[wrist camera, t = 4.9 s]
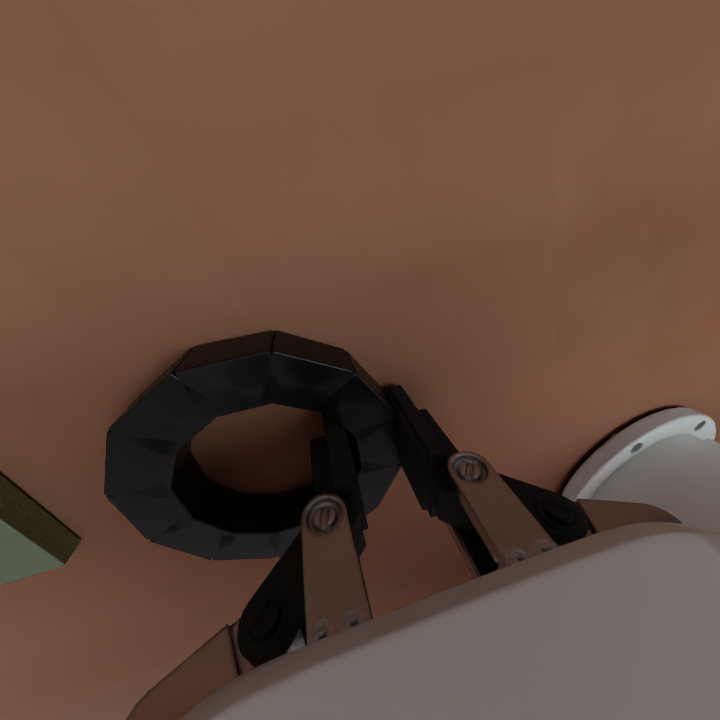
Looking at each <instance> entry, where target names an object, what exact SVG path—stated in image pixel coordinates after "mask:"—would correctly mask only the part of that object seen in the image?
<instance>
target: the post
mask: <svg viewBox="0 0 720 720" xmlns="http://www.w3.org/2000/svg"><path fill="white" fill-rule="evenodd" d="M80 541H81V540H80V539H79V538H78V537H77V536H75V535H74V534H73V533H72V532H70V531H69V530H68V529H67V528H66V527H64V526H63V525H62V524H61V523H59V522H58V521H57V520H56V519H55V518H53V517H52V516H51V515H50V514H49V513H47V512H46V511H45V510H44V509H42V508H41V507H40V506H39V505H38V504H36V503H35V502H34V501H33V500H32V499H30V498H29V497H28V496H27V495H25V494H24V493H23V492H22V491H21V490H19V489H18V488H17V487H16V486H15V485H13V484H12V483H11V482H10V481H8V480H7V479H6V478H5V477H4V476H2V475H1V474H0V585H4V584H7V583H10V582H13V581H17V580H20V579H23V578H26V577H30V576H33V575H36V574H39V573H43V572H46V571H49V570H52V569H56V568H59V567H62V566H64V565H65V564H66V562H67V561H68V559H69V558H70V556H71V555H72V553H73V552H74V550H75V549H76V548H77V546H78V545H79V543H80Z"/></svg>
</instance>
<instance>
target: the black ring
mask: <svg viewBox="0 0 720 720" xmlns="http://www.w3.org/2000/svg"><path fill="white" fill-rule="evenodd" d="M272 403H273V404H279V405H284V406H290V407H296V408H301V409H307V410H313V411H318V412H324V413H326V414H327V415H328V416H329V417H331V418H332V419H333V420H334V421H335V422H337V423H338V424H339V425H340V426H342V427H343V428H345V430H346V431H348V432H349V433H350V434H351V437H352V440H351V442H350V444H349V447H350V450H351V454H352V458H353V462H354V465H355V469H356V473H357V477H358V481H359V486H360V491H361V496H362V500H363V505H364V510H365V514H366V515H367V514H369V513H370V512H371V511H373V510H374V509H376V507H377V506H379V504H380V502H381V501H382V499H383V497H384V495H385V494H386V492H387V490H388V488H389V487H390V485H391V483H392V481H393V480H394V478H395V476H396V475H397V473H398V471H399V469H400V468H401V463H402V460H401V448H400V436H399V424H398V417H397V413H396V411H395V409H394V407H393V406H392V404H391V402H390V400H389V399H388V397H387V395H386V394H385V392H384V390H383V389H382V388H381V387H380V386H379V385H378V384H377V382H376V381H375V380H374V379H373V378H372V377H371V376H370V375H369V374H368V373H367V372H366V371H365V370H364V369H363V368H362V367H361V365H360V364H359V363H358V362H357V361H356V360H355V359H354V358H353V357H352V356H351V355H350V354H349V353H348V352H345V350H344V349H341V348H337V347H333V346H330V345H326V344H323V343H319V342H315V341H312V340H308V339H305V338H301V337H297V336H294V335H290V334H287V333H283V332H279V331H276V332H275V334H274V332H273V331H268V332H264V333H259V334H254V335H249V336H244V337H239V338H234V339H230V340H225V341H220V342H215V343H210V344H205V345H200V346H196V347H195V348H194V349H193V348H191V349H190V350H189V351H188V352H187V353H185V354H184V355H183V356H182V357H181V358H180V359H179V360H178V361H177V362H176V363H175V364H173V365H172V366H171V367H170V368H169V369H168V370H167V371H166V372H165V373H164V374H163V375H161V376H160V377H159V378H158V379H157V380H156V381H155V382H154V383H153V384H152V385H151V386H149V387H148V388H147V389H146V390H145V391H144V392H143V393H142V394H141V395H140V396H139V397H138V398H137V399H136V400H135V401H134V402H133V403H132V404H131V405H130V406H129V407H128V408H127V410H126V411H125V412H124V413H123V414H122V415H121V416H120V417H119V418H118V419H117V420H116V421H115V422H114V423H113V425H112V426H111V427H110V428H109V431H108V432H107V441H106V463H105V485H104V495H107V499H108V500H109V501H110V502H111V503H112V504H113V505H114V506H115V507H116V508H117V509H118V510H119V511H120V512H121V513H122V514H123V515H124V516H125V517H126V518H127V519H128V520H129V521H130V522H131V523H132V524H133V525H134V526H135V528H136V529H137V530H138V531H139V532H140V533H141V534H142V535H143V536H144V537H145V538H146V539H150V541H151V542H153V543H156V544H160V545H163V546H166V547H169V548H173V549H176V550H179V551H182V552H186V553H189V554H192V555H195V556H199V557H202V558H205V559H208V560H211V559H212V558H213V560H236V559H264V558H275V557H276V556H277V557H281V556H282V555H283V554H284V553H285V551H286V550H287V549H288V547H289V546H290V544H291V543H292V542H293V540H294V539H295V537H296V536H297V535H298V533H299V532H300V531H301V514H302V512H303V510H304V507H305V506H306V505H307V503H308V502H309V501H310V500H311V499H313V498H314V492H313V486H311V487H307V488H304V489H301V490H297V491H294V492H290V493H287V494H284V495H280V496H260V495H240V494H238V493H236V492H234V491H231V490H229V489H227V488H225V487H223V486H221V485H219V484H217V483H215V482H213V481H210V480H208V479H206V477H205V476H204V474H203V473H202V471H201V469H200V468H199V466H198V465H197V463H196V461H195V460H194V458H193V457H192V455H191V454H190V452H189V449H190V443H191V438H193V437H194V436H195V435H196V434H197V433H198V432H200V431H201V430H202V429H203V428H204V427H205V426H207V425H208V424H209V423H210V422H211V421H212V420H214V419H215V418H216V417H219V416H223V415H227V414H231V413H235V412H239V411H243V410H247V409H251V408H255V407H260V406H264V405H268V404H272Z"/></svg>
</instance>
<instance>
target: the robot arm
mask: <svg viewBox="0 0 720 720" xmlns="http://www.w3.org/2000/svg"><path fill="white" fill-rule="evenodd" d="M385 394H386V395H387V397H388V399H389V400H390V402H391V404H392V406H393V407H394V409H395V411H396V413H397V417H398V424H399V436H400V448H401V460H402V463H401V465H402V468H403V470H404V472H405V474H406V476H407V478H408V480H409V483H410V485H411V487H412V489H413V491H414V493H415V495H416V498H417V500H418V502H419V504H420V506H421V508H422V510H426V509H427V510H428V512H429V514H430V517H434V516H437V517H438V519H439V520H441V521H443V522H445V523H446V524H447V527H448V529H449V531H450V533H451V535H452V537H453V539H454V541H455V543H456V545H457V547H458V549H459V551H460V553H461V555H462V557H463V559H464V561H465V563H466V565H467V567H468V569H469V571H470V573H471V575H472V577H473V580H471V581H468V582H465V583H463V584H460V585H458V586H455V587H452V588H450V589H447V590H445V591H442V592H439V593H437V594H434V595H432V596H429V597H427V598H424V599H421V600H419V601H416V602H414V603H411V604H409V605H406V606H403V607H401V608H398V609H396V610H393V611H391V612H388V613H386V614H383V615H381V616H378V617H375V618H373V616H372V611H371V607H370V602H369V598H368V594H367V589H366V585H365V580H364V576H363V571H362V567H361V563H360V556H361V554H362V552H363V550H364V548H365V546H366V541H365V537H364V533H363V530H366V529H368V524H367V519H366V514H365V510H364V505H363V500H362V496H361V491H360V486H359V481H358V477H357V473H356V469H355V465H354V462H353V458H352V454H351V450H350V447H349V443H348V439H347V436H346V432H345V428H343V427H342V426H340V425H339V424H338V423H337V422H335V421H334V420H333V419H332V418H331V417H329V416H328V415H327V414H326V413H324V412H322V417H323V423H324V429H325V436H322V437H318V438H314V439H311V440H310V441H309V443H310V456H311V468H312V480H313V492H314V498H313V499H311V500H310V501H309V502H308V503H307V505H306V506H305V507H304V510H303V512H302V514H301V531H300V532H299V533H298V535H297V536H296V537H295V539H294V540H293V542H292V543H291V544H290V546H289V547H288V549H287V550H286V551H285V553H284V554H283V555H282V557H281V558H280V560H279V561H278V562H277V564H276V565H275V566H274V568H273V569H272V571H271V572H270V573H269V575H268V576H267V578H266V579H265V580H264V582H263V583H262V584H261V586H260V587H259V589H258V590H257V591H256V593H255V594H254V595H253V597H252V598H251V600H250V601H249V603H248V604H247V606H246V608H245V609H244V611H243V613H242V616H241V618H239V619H238V620H237V621H236V622H235V623H234V624H232V625H231V626H229V625H228V624H227V625H226V626H225V627H224V628H222V629H221V630H220V631H219V632H218V633H216V634H215V635H214V636H213V637H212V638H211V639H209V640H208V641H207V642H206V643H205V644H203V645H202V646H201V647H200V648H199V649H198V650H196V651H195V652H194V653H193V654H192V655H190V656H189V657H188V658H187V659H186V660H184V661H183V662H182V663H181V664H180V665H179V666H177V667H176V668H175V669H174V670H173V671H171V672H170V673H169V674H168V675H167V676H166V677H164V678H163V679H162V680H161V681H160V682H158V683H157V684H156V685H155V686H154V687H153V688H151V689H150V690H149V691H148V692H147V693H146V694H145V695H144V696H143V697H142V698H141V699H140V700H139V701H138V703H137V704H136V705H135V707H134V708H133V710H132V711H131V713H130V714H129V716H128V717H127V719H126V720H720V443H718V442H716V441H714V438H715V434H716V427H715V423H714V421H713V420H712V419H711V418H710V417H709V416H707V415H704V414H702V413H700V412H698V411H695V410H693V409H691V408H683V407H678V408H671V409H666V410H663V411H659V412H656V413H653V414H651V415H649V416H647V417H645V418H642V419H640V420H638V421H636V422H635V423H633V424H631V425H630V426H628V427H626V428H625V429H623V430H621V431H620V432H619V433H617V434H616V435H615V436H613V437H612V438H610V439H609V440H608V441H606V442H605V443H604V444H603V445H602V446H601V447H599V448H598V449H597V450H596V451H595V452H594V453H593V454H592V455H591V456H590V457H589V458H588V459H587V460H586V461H585V462H584V463H583V464H582V465H581V466H580V467H579V468H578V470H577V471H576V472H575V473H574V474H573V476H572V477H571V479H570V480H569V482H568V483H567V485H566V486H565V488H564V490H563V493H562V495H560V494H558V493H555V492H552V491H549V490H546V489H543V488H540V487H537V486H534V485H531V484H528V483H525V482H522V481H519V480H516V479H513V478H510V477H507V476H504V475H501V474H498V473H497V472H496V471H495V469H494V468H493V467H492V466H491V464H490V463H489V462H488V461H487V460H486V459H485V458H484V457H482V456H480V455H478V454H476V453H473V452H467V451H462V452H458V451H457V449H456V448H455V447H454V445H453V444H452V443H451V442H450V440H449V439H448V438H447V436H446V435H445V434H444V432H443V431H442V430H441V428H440V427H439V426H438V424H437V423H436V422H435V420H434V419H433V418H432V416H431V415H430V414H429V412H428V411H427V410H426V409H421V410H418V409H417V408H416V407H415V405H414V404H413V402H412V401H411V399H410V398H409V397H408V395H407V394H406V392H405V391H404V390H403V388H402V387H401V386H400V385H398V386H394V387H390V388H388V391H387V392H385Z"/></svg>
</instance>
